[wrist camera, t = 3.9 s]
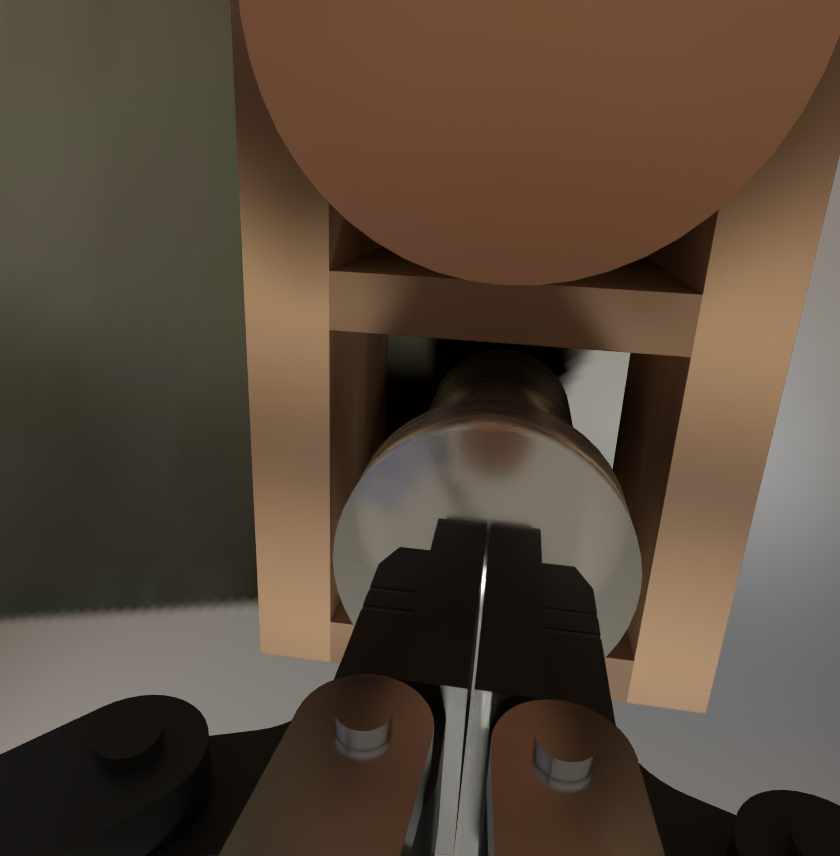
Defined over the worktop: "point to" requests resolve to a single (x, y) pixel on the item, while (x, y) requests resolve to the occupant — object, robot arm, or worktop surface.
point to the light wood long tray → (542, 326)
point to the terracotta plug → (534, 119)
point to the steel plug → (495, 486)
